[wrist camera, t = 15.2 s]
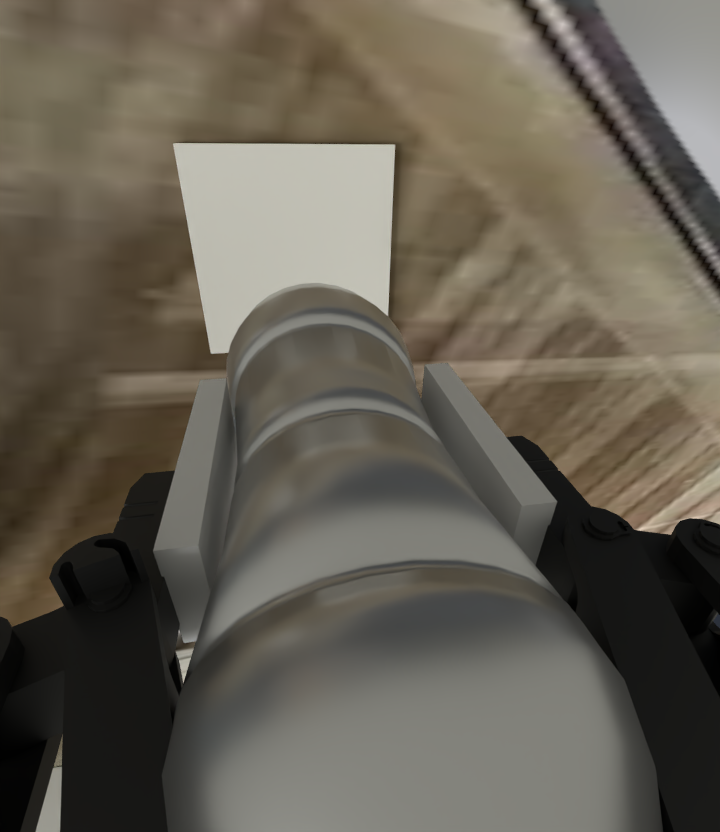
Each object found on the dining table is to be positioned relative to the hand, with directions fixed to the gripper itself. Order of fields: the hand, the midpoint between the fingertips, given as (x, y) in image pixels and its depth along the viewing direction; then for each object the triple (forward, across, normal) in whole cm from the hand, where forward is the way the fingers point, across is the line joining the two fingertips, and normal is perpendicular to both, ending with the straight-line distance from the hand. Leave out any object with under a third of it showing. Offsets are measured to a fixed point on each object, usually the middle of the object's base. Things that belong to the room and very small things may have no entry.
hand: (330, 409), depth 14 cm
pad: (+23, 0, 0) cm, 23 cm away
